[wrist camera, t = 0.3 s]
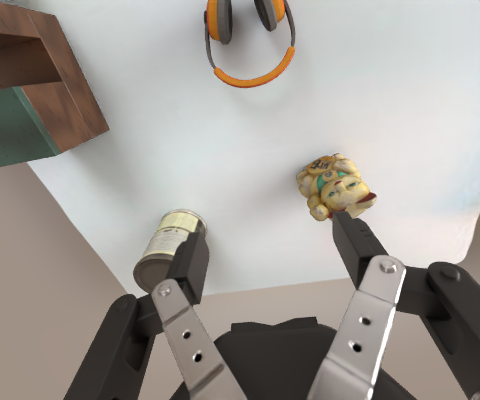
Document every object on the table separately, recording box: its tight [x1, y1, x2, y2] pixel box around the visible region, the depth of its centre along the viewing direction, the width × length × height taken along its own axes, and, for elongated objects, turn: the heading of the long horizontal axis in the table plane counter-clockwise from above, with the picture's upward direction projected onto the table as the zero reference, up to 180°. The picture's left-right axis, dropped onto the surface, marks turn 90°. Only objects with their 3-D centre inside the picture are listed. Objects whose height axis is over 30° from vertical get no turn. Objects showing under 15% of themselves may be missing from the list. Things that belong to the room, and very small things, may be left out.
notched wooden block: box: [0, 3, 110, 167], centre depth 31 cm, size 16×10×13 cm, turn 11°
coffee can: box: [133, 210, 207, 294], centre depth 45 cm, size 10×10×14 cm
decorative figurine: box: [297, 154, 376, 221], centre depth 36 cm, size 10×8×15 cm
